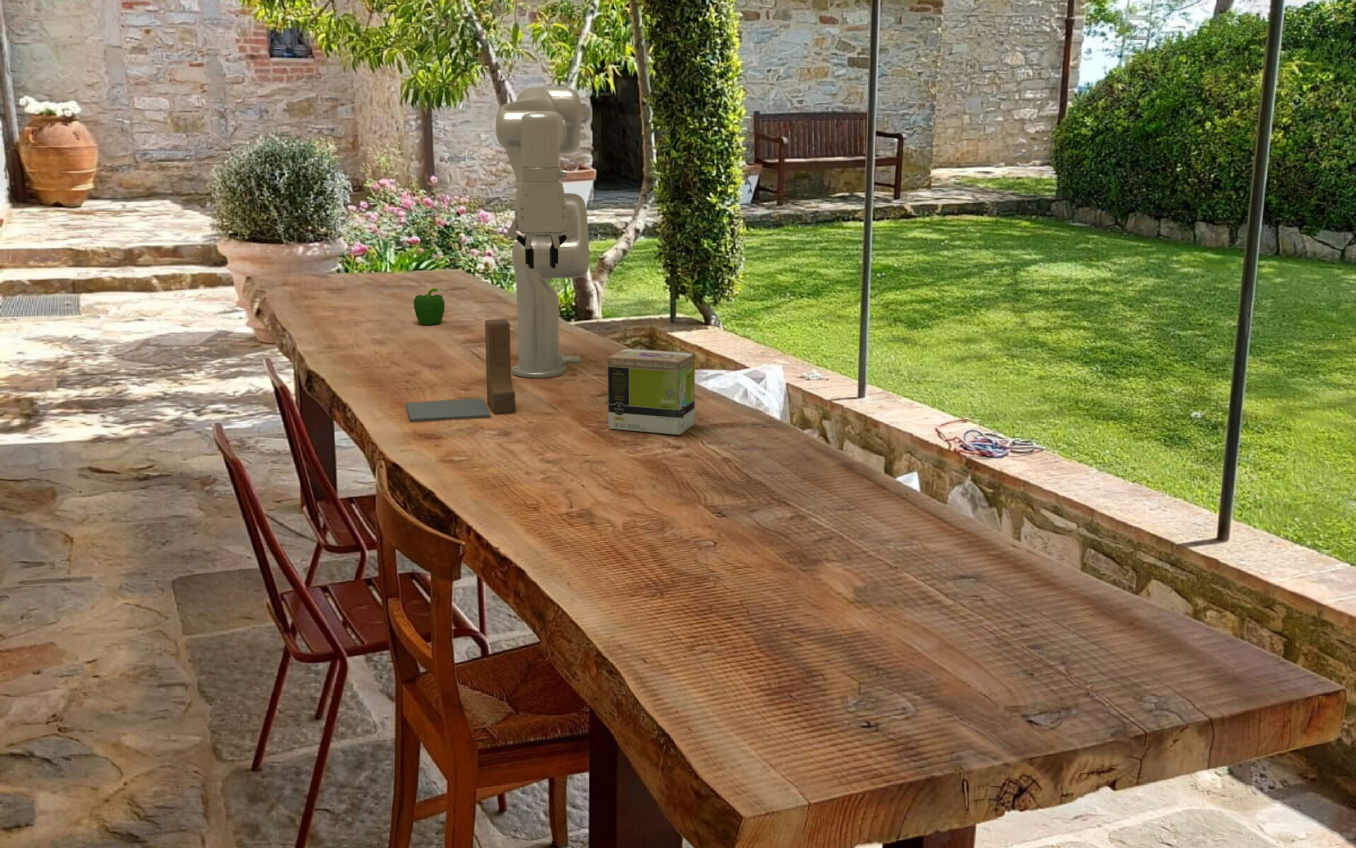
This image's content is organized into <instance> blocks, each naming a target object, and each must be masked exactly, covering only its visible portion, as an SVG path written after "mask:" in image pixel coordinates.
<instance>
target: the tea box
mask: <svg viewBox="0 0 1356 848" xmlns="http://www.w3.org/2000/svg"><path fill="white" fill-rule="evenodd" d="M695 355H696V354H695V352H686V351H685V352H684V351H683V352H682V351H668V350H667V351H666V350H653V349H652V350H651V349H636V348H624V349H622V350H620V351H619V352H615V353H614V354H612V355H610V356H608V357H607V405H608V406H607V410H608V411H607V412H608V413H607V414H608V416H607V417H608V429H610V430H611V429H612V430H621V431H630V432H631V431H632V432H641V433H642V432H643V433H656V434H666V435H677V436H680V435H682V434H683V433H684V432H686V431H687V430H688V429H690V428H691V427H693V426H694V424H695V415H696V414H695V407H696V406H695V405H696V403H695V402H696V400H695V399H696V397H695V396H696V395H695V394H696V391H695V389H696V386H695V385H696V384H695V381H696V379H695V377H696V375H695V374H696V373H695V372H696V371H695V369H696V368H695V367H696V364H695V363H696V361H695V358H696V357H695Z"/></svg>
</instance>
